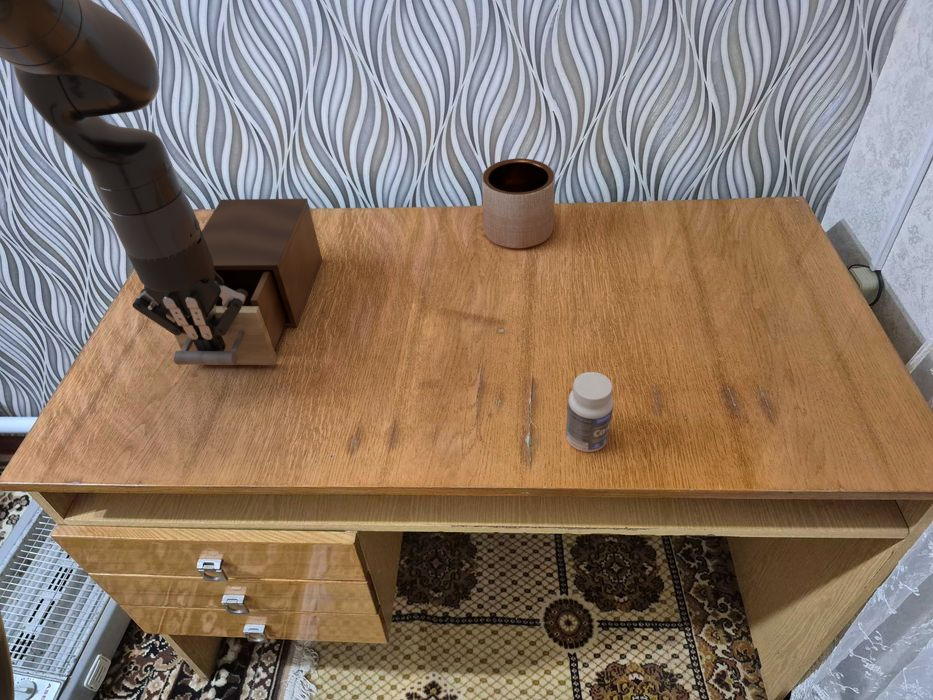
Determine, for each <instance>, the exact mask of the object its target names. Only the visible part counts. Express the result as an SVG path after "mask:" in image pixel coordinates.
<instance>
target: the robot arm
mask: <svg viewBox="0 0 933 700" xmlns="http://www.w3.org/2000/svg"><path fill="white" fill-rule="evenodd" d="M0 58H2V59H3V60H4V61H6V62H7V63H8V64H10V65H12V66H13V69H14V70H13V71H14V75H15V77H16V80H17V82H18V84H19V87H20V89H21V90H22V92H23V94H24V96H25V97H26V99H27V101H28V102H29V103H30V105H31V106H32V107H33V109H35V110H36V112H37V113H38V115H40V117H41V118H42V119H43V120H44V121H45V122H46V123H47V125H48V126H50V127H51V128H52V130H53V131H54V132H55V133H56V134H57V135H58V136H59V137H60V139H61V140H62V141H63V142H64V143H65V144H66V145H67V147H68V148H69V149H70V150H71V151H72V153H73V154H74V156H75V157H77V158H78V160H79V161H80V162H81V164H82V165H83V166H84V167H85V169H86V170H87V171H88V173H89V174H90V176H91V179H92V180H93V182H94V184H95V186H96V188H97V190H98V192H99V195H100V196H101V198H102V200H103V203H104V204H105V206H106V209H107V211H108V214H109V217H110V219H111V223H112V226H113V228H114V231H115V233H116V235H117V237H118V238H119V241H120V243H121V245H122V247H123V249H124V251H125V253H126V255H127V257H128V259H129V262H130V263H131V265H132V267H133V269H134V271H135V273H136V275H137V277H138V279H139V281H140V282H141V284H142V285H143V288H142V289H141V290H140V292H139V293H138V294H137V296H136V297H135V300H134V301H133V303H132V308H133V309H134V310H136V311H137V312H139V313H140V314H142V315H143V316H144V317H147V318H148V319H150V321H153V322H154V323H156V324H157V325H159V326H160V327H162V328H163V329H165V330H166V331H168V332H169V333H171V334H172V335H173V336H174V335H180V334H181V333H182V334H186V335H187V336H188V337H189V338H190V339H192V340H193V342H194V344H195V346H196V348H197V350H198V351H224V350H225V347H226V345H225V342H224V340H223V338H222V336H224V335H225V334H226V332H227V331H228V329H229V327H230V326H231V324H232V323H233V321H234V319H235V318H236V316H237V314H238V313H239V311H240V310H241V307H242V305H243V303H244V301H245V299H246V297H247V295H248V293H247V291H246V290H244V289H238V290H237V291H234V290H232V289H230V288H228V287H226V286H224V281H223V279H222V278H221V277H220V276H219V275H218V274H217V273H216V272H215V270H214V265H213V260H212V257H211V254H210V251H209V249H208V246H207V244H206V241H205V239H204V236H203V234H202V229H201V226H200V222H199V220H198V218H197V216H196V214H195V211H194V209H193V207H192V204H191V202H190V200H189V199H188V196H187V195H186V193H185V192H184V190H183V188H182V185H181V183H180V180H179V178H178V176H177V173H176V170H175V168H174V165H173V162H172V160H171V157H170V154H169V152H168V150H167V147H166V145H165V144H164V142H163V140H162V139H161V138H160V137H159V135H157V134H156V133H155V132H153V131H151V130H146V129H142V128H135V127H125V126H121V125H120V126H119V125H115V124H112V123H109V122H107V120H105V119H103V118H102V117H103V116H111V115H117V114H127V113H133V112H138V111H141V110H143V109H145V108H147V107H148V106H149V105H151V104H152V103H153V101H154V100H155V99H156V97H157V95H158V93H159V90H160V82H161V80H160V70H159V66H158V63H157V60H156V58H155V56H154V54H153V51H152V49H151V48H150V47H149V45H148V44H147V42H146V41H145V40H144V38H143V36H142V35H141V34H140V33H139V32H138V31H137V30H136V29H135V28H134V27H133V26H132V25H130V23H128V22H127V21H126V20H125V19H124V18H122V17H120V16H118V14H116V13H114V12H112V11H111V10H109V9H107V8H105V7H104V6H102V5H100V4H98V3H97V2H95V1H93V0H0ZM219 296H220V297H221V298H222V305H223V306H224V307H223V309H224V310H225V312H224V313H223V315H222V317H220V318H218V317H217V314H216V302H217V300H218V298H219ZM166 315H169V316H170V317H172V318H173V319H175V322H172V321H171V320H170V319H168V318H167V317H166ZM11 656H12V655H11V651H10V646H9V642H8V638H7V633H6V629H5V623H4V619H3V615H2V611H1V610H0V700H16V699H15V695H16V694H15V677H14V669H13V662H12V657H11Z"/></svg>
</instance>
